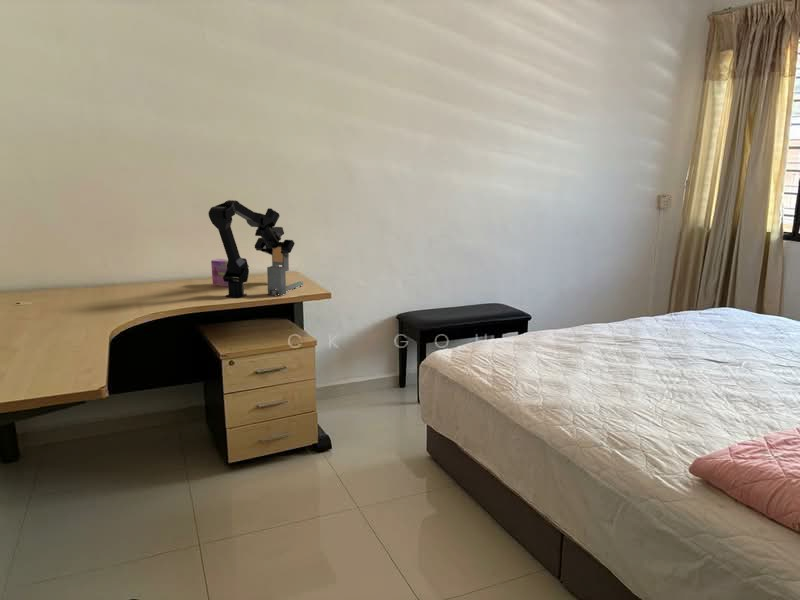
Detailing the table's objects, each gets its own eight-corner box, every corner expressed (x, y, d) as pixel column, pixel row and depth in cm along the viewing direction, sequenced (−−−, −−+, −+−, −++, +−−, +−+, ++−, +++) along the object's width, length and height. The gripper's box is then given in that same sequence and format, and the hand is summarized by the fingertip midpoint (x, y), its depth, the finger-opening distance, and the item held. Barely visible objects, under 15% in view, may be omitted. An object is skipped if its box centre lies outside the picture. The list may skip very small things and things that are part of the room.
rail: (276, 296, 255) (275, 291, 254) (271, 295, 256) (271, 291, 255) (303, 286, 277) (303, 281, 277) (299, 285, 278) (299, 281, 277)
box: (212, 285, 274) (210, 260, 272) (219, 283, 280) (218, 258, 277) (232, 287, 271) (230, 261, 269) (239, 285, 277) (237, 259, 274)
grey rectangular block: (284, 271, 279) (283, 246, 276) (272, 270, 281) (271, 245, 278) (288, 270, 283) (288, 245, 280) (276, 269, 285) (276, 244, 282)
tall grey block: (281, 296, 255) (280, 268, 252) (268, 295, 257) (267, 267, 254) (286, 294, 259) (285, 266, 256) (273, 293, 261) (272, 265, 258)
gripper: (292, 222, 270) (305, 244, 282) (257, 220, 277) (271, 241, 289) (282, 241, 264) (296, 263, 277) (247, 238, 271) (262, 260, 284)
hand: (281, 256), depth 282 cm, fingers closed on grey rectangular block, 6 cm apart
